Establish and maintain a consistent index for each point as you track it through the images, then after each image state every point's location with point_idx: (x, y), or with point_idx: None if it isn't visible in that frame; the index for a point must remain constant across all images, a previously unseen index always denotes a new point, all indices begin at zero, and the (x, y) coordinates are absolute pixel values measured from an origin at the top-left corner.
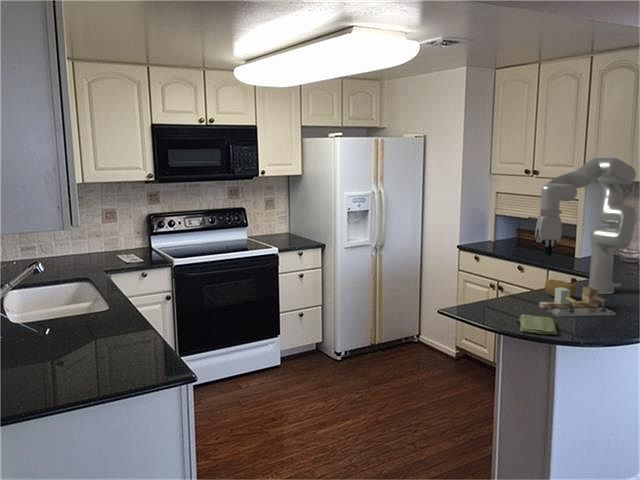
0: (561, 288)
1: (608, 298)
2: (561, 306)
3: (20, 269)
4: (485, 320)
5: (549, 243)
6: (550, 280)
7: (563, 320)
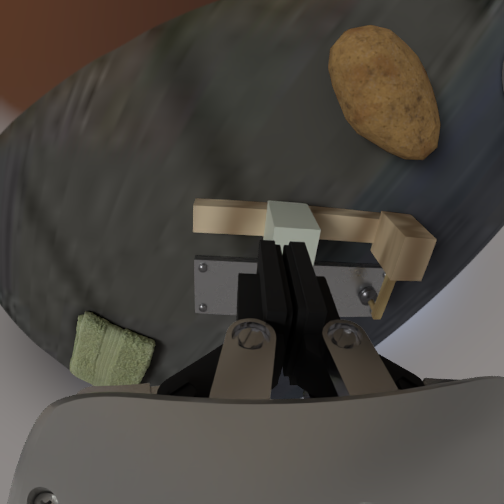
0: None
1: (497, 162)
2: None
3: None
4: (11, 295)
5: (328, 371)
6: (366, 62)
7: (197, 331)
